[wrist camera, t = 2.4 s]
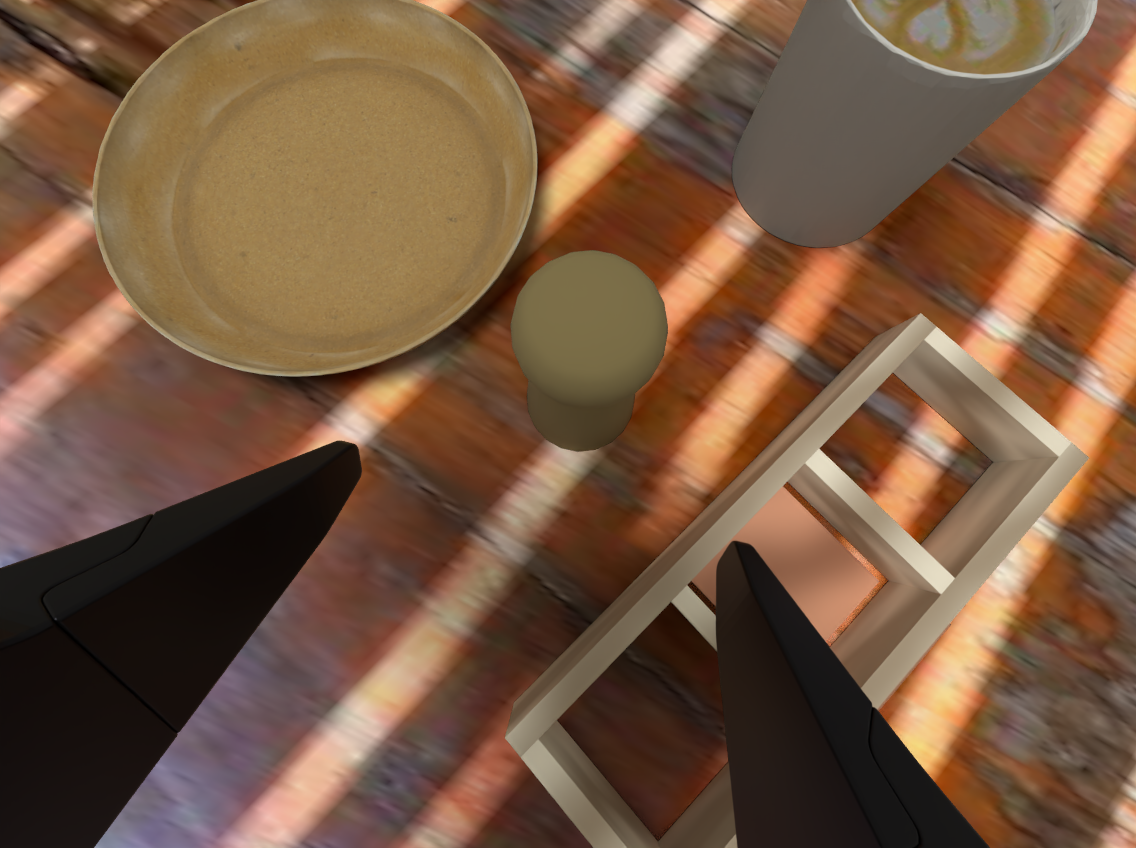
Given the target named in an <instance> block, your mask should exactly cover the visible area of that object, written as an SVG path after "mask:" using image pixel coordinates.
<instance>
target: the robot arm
mask: <svg viewBox="0 0 1136 848" xmlns="http://www.w3.org/2000/svg"><path fill="white" fill-rule="evenodd" d="M361 473H362V467H361V461H360V455H359V449H358V447H357V446H356V445H355V444H353V443H349V442H345V441H335V442H333V443H330V444H328V445H325V446H323V447H320V448H317V449H315V450H312V451H310V452H307V453H305V454H302V455H300V456H297V457H295V458H292V459H289V460H287V461H284V462H282V463H279V464H277V465H274V466H272V467H269V468H267V469H264V470H261V471H259V472H256V473H254V474H251V475H249V476H246V477H244V478H241V479H239V480H236V481H233V482H231V483H228V484H226V485H223V486H221V487H218V488H216V489H213V490H211V491H208V492H205V493H203V494H200V495H198V496H195V497H193V498H190V499H188V500H185V501H182V502H180V503H177V504H175V505H172V506H170V507H167V508H165V509H162V510H160V511H157V512H155V514H154V515H153V514H149V515H147V516H144V517H142V518H139V519H136V520H134V521H131V522H129V523H126V524H124V525H121V526H118V527H116V528H113V529H110V530H108V531H105V532H102V533H100V534H97V535H94V536H92V537H89V538H86V539H83V540H81V541H78V542H75V543H72V544H69V545H66V546H63V547H61V548H58V549H55V550H52V551H49V552H46V553H43V554H40V555H37V556H34V557H31V558H29V559H26V560H23V561H20V562H17V563H14V564H11V565H8V566H5V567H2V568H0V848H94V847H95V846H96V844H97V843H98V842H99V840H100V839H101V838H102V836H103V835H104V834H105V832H106V831H107V830H108V828H109V827H110V826H111V824H112V823H113V821H114V820H115V819H116V817H117V816H118V815H119V813H120V812H121V811H122V809H123V808H124V807H125V805H126V804H127V803H128V801H129V800H130V799H131V797H132V796H133V795H134V793H135V792H136V791H137V789H138V788H139V787H140V785H141V784H142V783H143V781H144V780H145V778H146V777H147V776H148V774H149V773H150V772H151V770H152V769H153V768H154V766H155V765H156V764H157V762H158V761H159V760H160V758H161V757H162V756H163V754H164V753H165V752H166V750H167V749H168V748H169V746H170V745H171V744H172V742H173V741H174V740H175V738H176V737H177V735H178V734H177V733H179V732H180V731H181V730H182V728H183V727H184V726H185V724H186V723H187V722H188V720H189V719H190V717H191V716H192V715H193V713H194V712H195V711H196V709H197V708H198V707H199V705H200V704H201V703H202V701H203V700H204V699H205V697H206V696H207V695H208V693H209V692H210V691H211V689H212V688H213V687H214V685H215V684H216V683H217V681H218V680H219V678H220V677H221V676H222V674H223V673H224V672H225V670H226V669H227V668H228V666H229V665H230V664H231V662H232V661H233V660H234V658H235V657H236V656H237V654H238V653H239V652H240V650H241V649H242V648H243V646H244V645H245V644H246V642H247V641H248V640H249V638H250V637H251V635H252V634H253V633H254V631H255V630H256V629H257V627H258V626H259V625H260V623H261V622H262V621H263V619H264V618H265V617H266V615H267V614H268V613H269V611H270V610H271V609H272V607H273V606H274V605H275V603H276V602H277V601H278V599H279V598H280V596H281V595H282V594H283V592H284V591H285V590H286V588H287V587H288V586H289V584H290V583H291V582H292V580H293V579H294V578H295V576H296V575H297V574H298V572H299V571H300V570H301V568H302V567H303V566H304V564H305V563H306V562H307V560H308V559H309V557H310V556H311V555H312V553H313V552H314V551H315V549H316V548H317V547H318V545H319V544H320V543H321V541H322V540H323V539H324V537H325V536H326V534H327V533H328V531H329V530H330V528H331V527H332V525H333V523H334V522H335V520H336V518H337V517H338V515H339V513H340V511H341V510H342V508H343V506H344V505H345V503H346V501H347V500H348V498H349V496H350V495H351V493H352V491H353V489H354V488H355V486H356V484H357V483H358V481H359V479H360V477H361ZM716 644H717V654H718V664H719V674H720V684H721V693H722V703H723V713H724V723H725V732H726V742H727V752H728V761H729V771H730V781H731V791H732V800H733V810H734V820H735V830H736V839H737V848H990V847H989V846H988V845H987V844H986V842H985V841H984V840H983V839H982V838H981V837H980V835H979V834H978V833H977V832H976V831H975V830H974V828H973V827H972V826H971V825H970V824H969V823H968V821H967V820H966V819H965V818H964V817H963V815H962V814H961V813H960V812H959V811H958V810H957V808H956V807H955V806H954V805H953V804H952V803H951V801H950V800H949V799H948V798H947V797H946V795H945V794H944V793H943V792H942V790H941V789H940V788H939V787H938V786H937V784H936V783H935V782H934V781H933V780H932V778H931V777H930V776H929V775H928V774H927V772H926V771H925V770H924V769H923V768H922V766H921V765H920V764H919V763H918V761H917V760H916V759H915V758H914V756H913V755H912V754H911V753H910V751H909V750H908V749H907V747H906V746H905V745H904V744H903V742H902V741H901V740H900V738H899V737H898V736H897V735H896V733H895V732H894V731H893V730H892V728H891V727H890V726H889V724H888V723H887V722H886V720H885V719H884V718H883V716H882V715H881V714H880V712H879V711H878V710H877V709H876V708H875V707H872V702H871V701H870V699H869V698H868V697H867V695H866V694H865V693H864V692H863V690H862V689H861V688H860V686H859V685H858V684H857V682H856V681H855V680H854V678H853V677H852V676H851V674H850V673H849V672H848V670H847V669H846V668H845V667H844V665H843V664H842V663H841V661H840V660H839V659H838V657H837V656H836V655H835V653H834V652H833V651H832V649H831V648H830V647H829V645H828V644H827V643H826V641H825V640H824V639H823V638H822V636H821V635H820V634H819V632H818V631H817V630H816V628H815V627H814V626H813V624H812V623H811V622H810V620H809V619H808V618H807V616H806V615H805V614H804V612H803V611H802V610H801V609H800V607H799V606H798V605H797V603H796V602H795V601H794V599H793V598H792V597H791V595H790V594H789V593H788V591H787V590H786V589H785V587H784V586H783V585H782V584H781V582H780V581H779V580H778V578H777V577H776V576H775V574H774V573H773V572H772V570H771V569H770V568H769V566H768V565H767V564H766V562H765V561H764V560H763V558H762V557H761V556H760V555H759V553H758V552H757V551H756V549H755V548H754V547H753V546H752V545H751V544H748V543H744V542H741V541H737V540H734V541H732V542H731V543H730V544H729V545H728V547H727V548H726V550H725V552H724V553H723V555H722V556H721V558H720V559H719V561H718V564H717V568H716Z"/></svg>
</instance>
